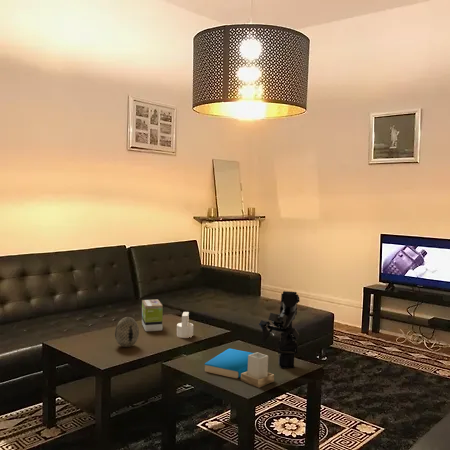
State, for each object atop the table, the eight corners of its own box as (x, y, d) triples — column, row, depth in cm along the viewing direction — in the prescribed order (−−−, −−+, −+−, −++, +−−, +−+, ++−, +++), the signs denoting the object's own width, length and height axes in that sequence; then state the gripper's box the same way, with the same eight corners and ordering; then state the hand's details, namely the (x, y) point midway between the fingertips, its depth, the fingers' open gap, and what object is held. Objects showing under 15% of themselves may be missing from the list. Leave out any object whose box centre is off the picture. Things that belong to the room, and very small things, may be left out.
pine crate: (255, 374, 215) (256, 368, 215) (274, 381, 208) (274, 374, 208) (240, 380, 208) (240, 373, 207) (258, 387, 201) (259, 380, 201)
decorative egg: (112, 344, 249) (112, 315, 248) (134, 341, 255) (135, 313, 253) (118, 351, 239) (118, 321, 238) (141, 348, 244) (142, 319, 243)
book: (204, 363, 216) (228, 347, 239) (203, 373, 217) (228, 356, 239) (239, 371, 209) (261, 353, 232) (239, 380, 209) (260, 362, 232)
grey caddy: (256, 374, 212) (257, 352, 211) (267, 378, 208) (268, 355, 207) (247, 378, 208) (248, 355, 207) (258, 382, 204) (259, 358, 203)
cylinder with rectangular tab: (192, 338, 264) (193, 316, 263) (175, 337, 264) (176, 315, 264) (193, 333, 273) (194, 312, 272) (177, 332, 273) (178, 311, 273)
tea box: (141, 324, 288) (141, 299, 287) (158, 323, 291) (158, 298, 290) (144, 331, 274) (145, 305, 273) (162, 330, 277) (163, 304, 276)
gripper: (262, 302, 221) (245, 330, 214) (296, 310, 209) (279, 340, 201) (272, 316, 228) (256, 344, 220) (306, 324, 215) (290, 355, 208)
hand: (269, 345), depth 212 cm, fingers open, 9 cm apart
